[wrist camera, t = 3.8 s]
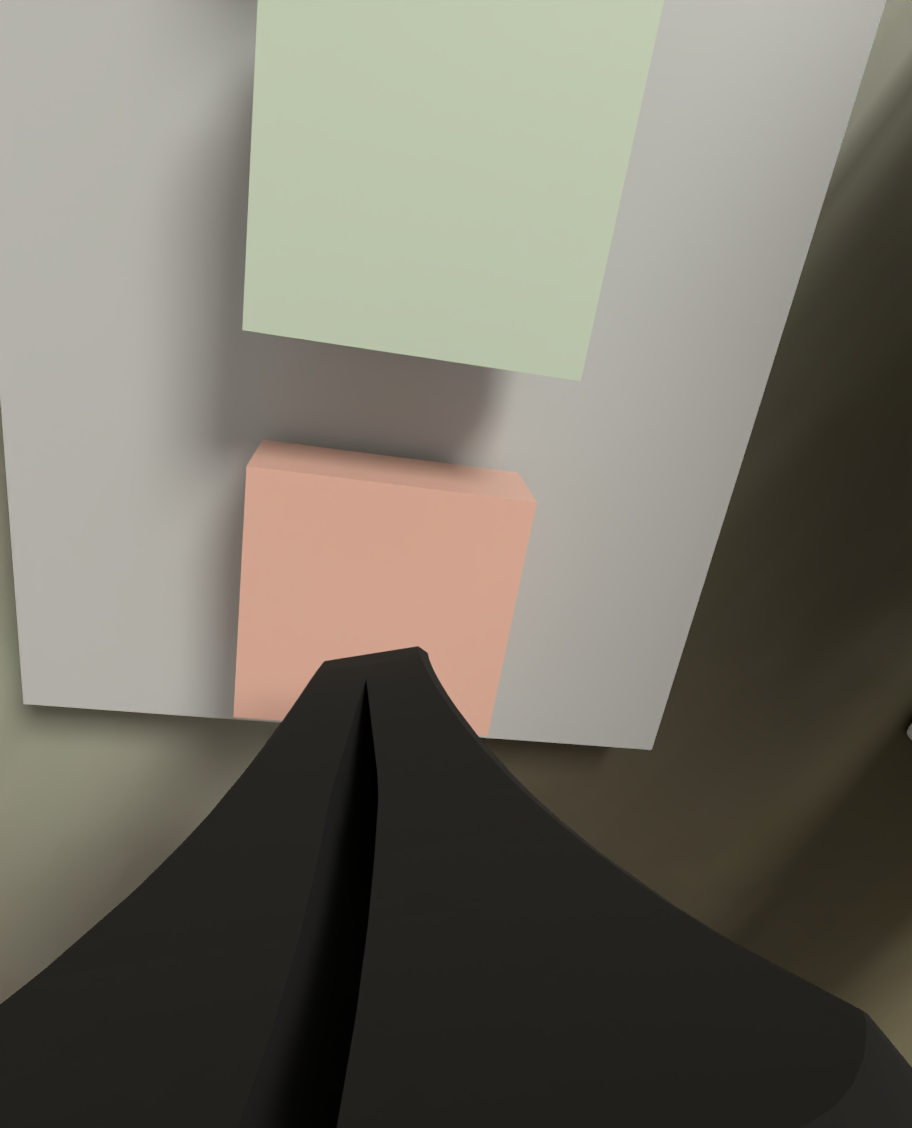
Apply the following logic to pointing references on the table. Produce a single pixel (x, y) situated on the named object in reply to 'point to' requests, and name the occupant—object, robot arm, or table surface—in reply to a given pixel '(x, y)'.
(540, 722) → the keyboard base
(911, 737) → the skincare box
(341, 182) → the sage key
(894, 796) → the table surface
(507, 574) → the coral key
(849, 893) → the table surface
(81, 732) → the table surface
